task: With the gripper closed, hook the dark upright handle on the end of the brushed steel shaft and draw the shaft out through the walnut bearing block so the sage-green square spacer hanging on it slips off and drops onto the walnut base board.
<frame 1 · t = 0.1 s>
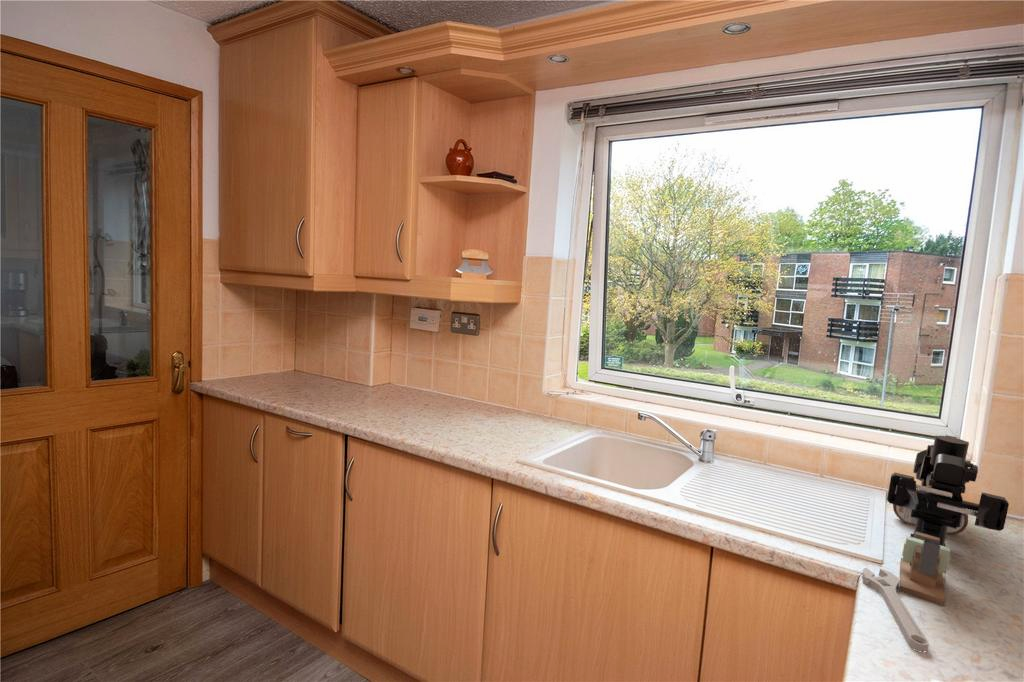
hand: (946, 514, 107), 16 cm above the counter, tool horizontal, fingers open, 9 cm apart
shaft: (928, 548, 111), point 8 cm above the counter, slide at 0.0 cm, touching spacer
adjustable wrench: (889, 608, 104), on the counter, touching stand
spacer: (923, 565, 114), point 3 cm above the counter, touching shaft
tin: (926, 528, 141), on the counter, touching arm
stand: (920, 583, 113), on the counter
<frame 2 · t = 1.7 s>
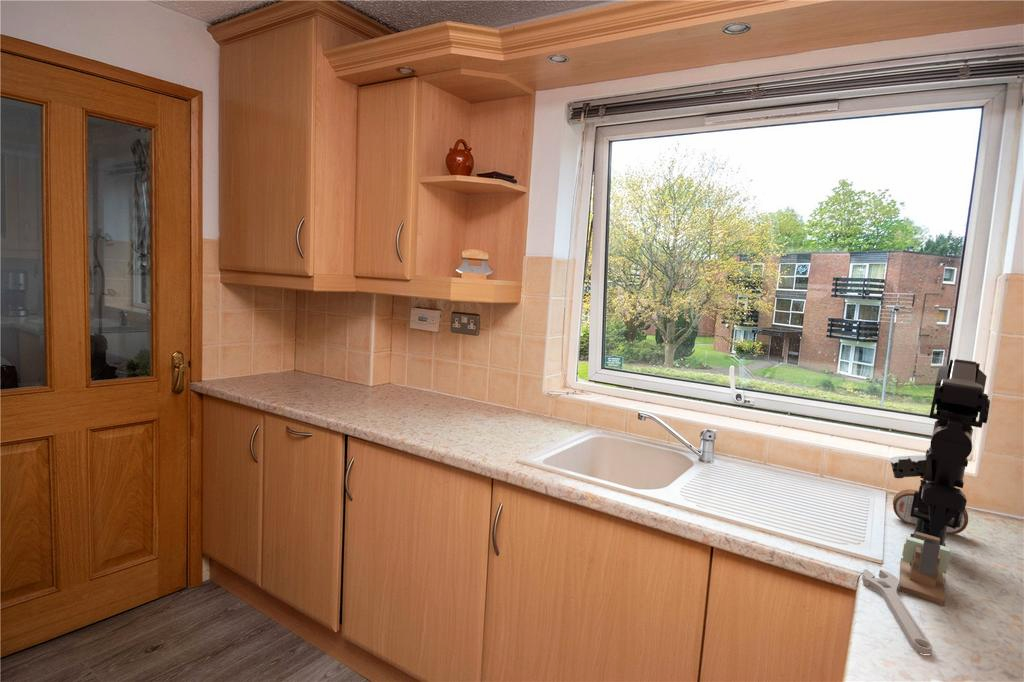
hand: (933, 527, 109), 13 cm above the counter, tool pointing down, fingers open, 6 cm apart
tin: (926, 528, 141), on the counter
everything else where it was.
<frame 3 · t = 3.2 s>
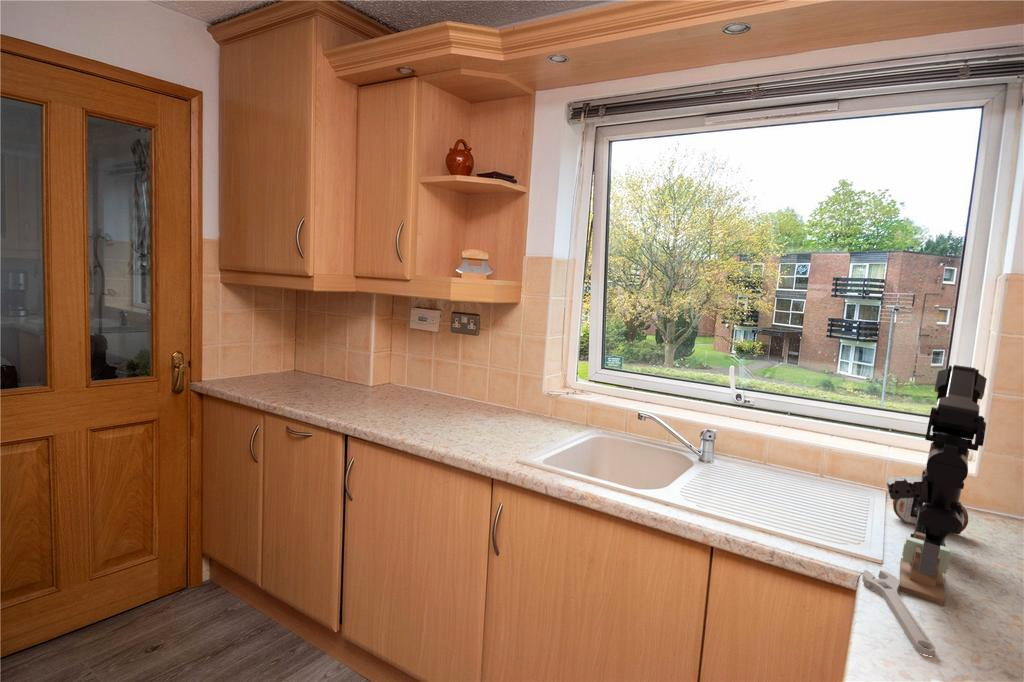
hand: (929, 549, 109), 9 cm above the counter, tool pointing down, fingers closed
shaft: (928, 548, 111), point 8 cm above the counter, slide at 0.1 cm, touching gripper, spacer
everything else where it was.
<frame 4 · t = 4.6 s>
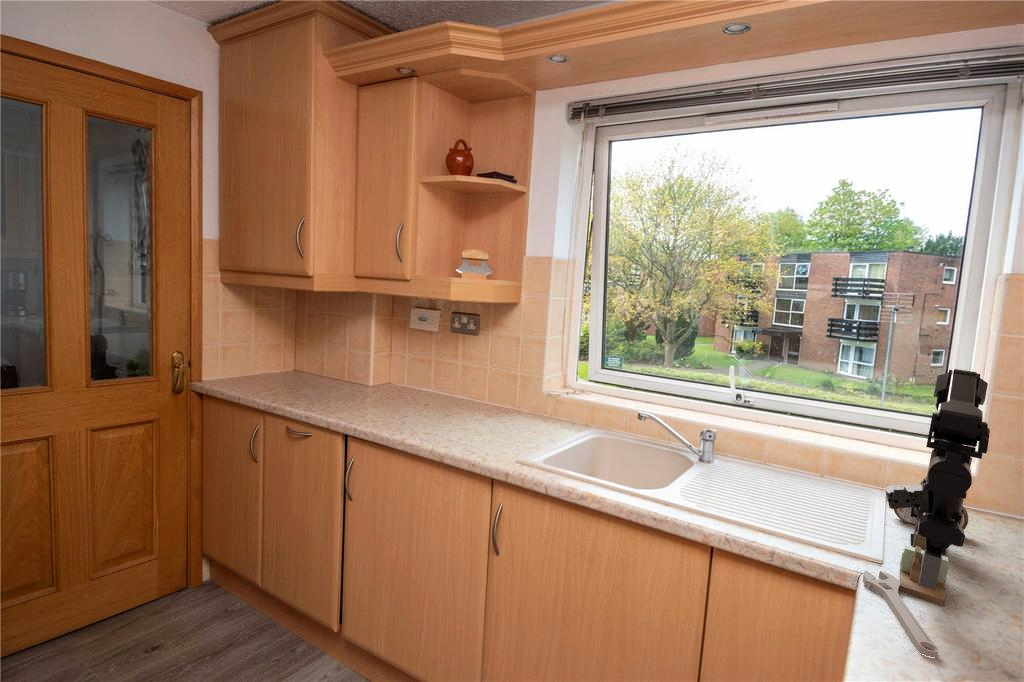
hand: (930, 561, 104), 9 cm above the counter, tool pointing down, fingers closed
shaft: (929, 560, 106), point 8 cm above the counter, slide at 6.0 cm, touching gripper
spacer: (921, 574, 114), point 1 cm above the counter, touching stand
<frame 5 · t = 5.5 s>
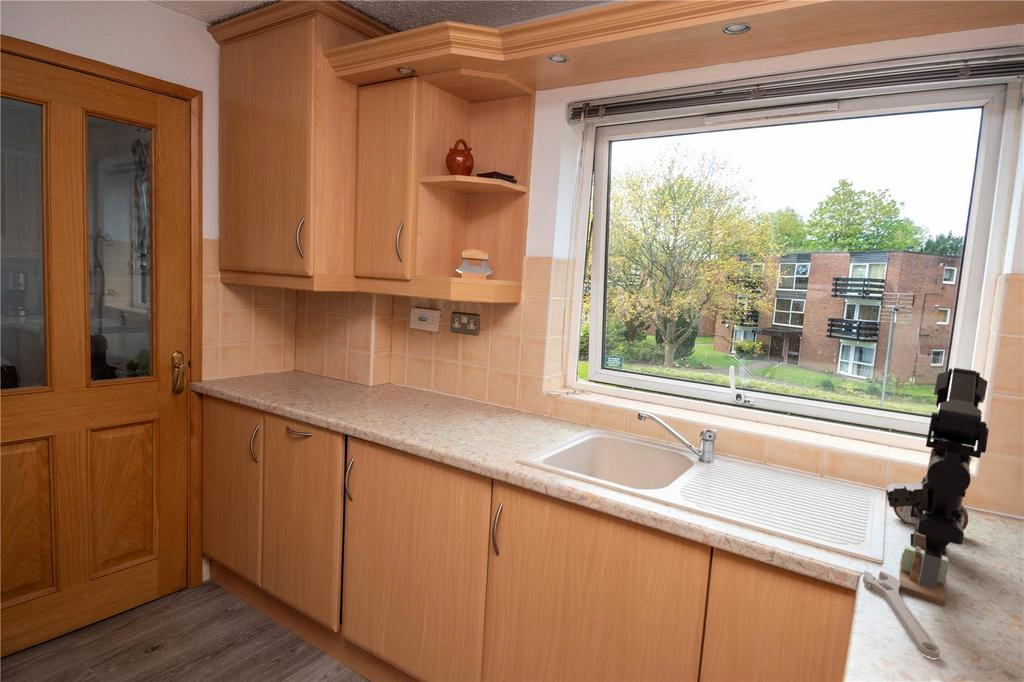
hand: (929, 558, 106), 8 cm above the counter, tool pointing down, fingers closed
shaft: (929, 560, 106), point 8 cm above the counter, slide at 6.0 cm
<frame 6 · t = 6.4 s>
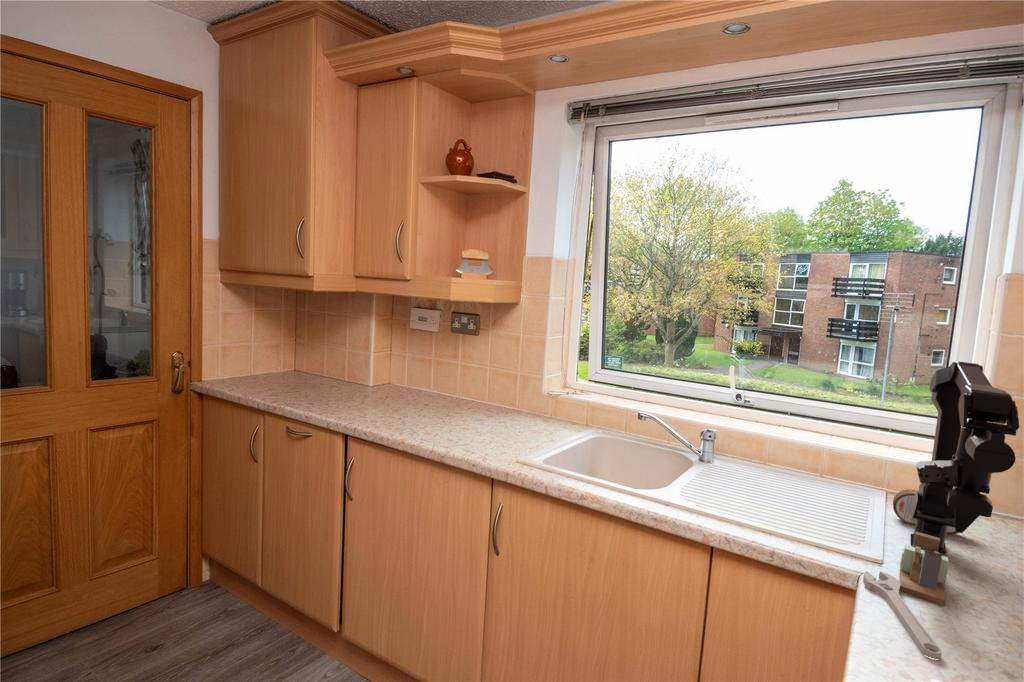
hand: (958, 531, 111), 12 cm above the counter, tool pointing down, fingers closed
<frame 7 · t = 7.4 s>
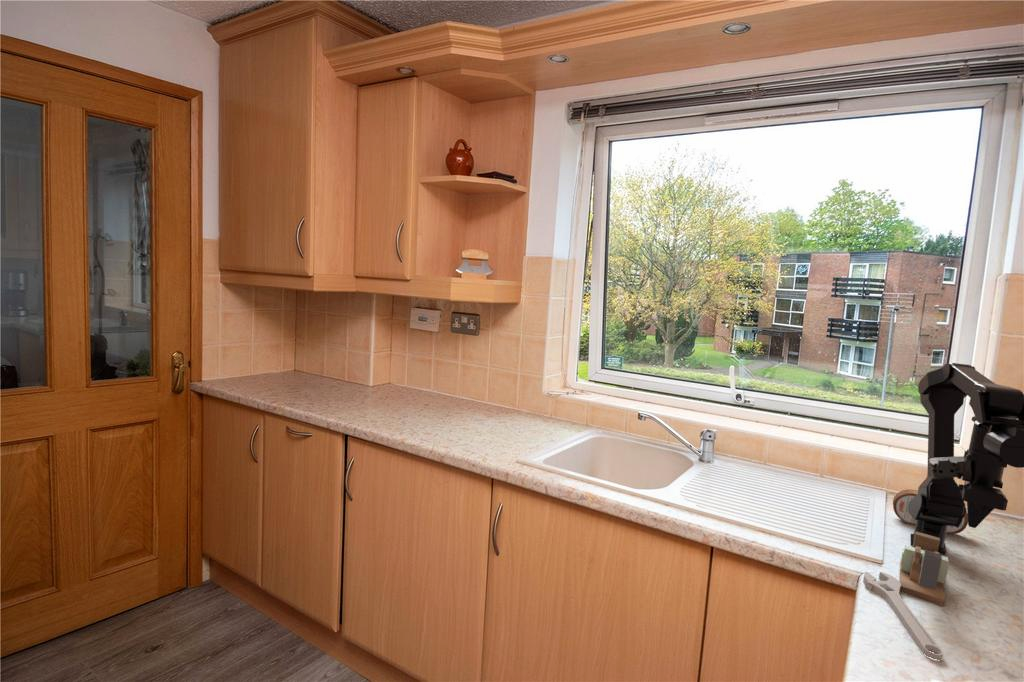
hand: (971, 526, 113), 12 cm above the counter, tool pointing down, fingers closed
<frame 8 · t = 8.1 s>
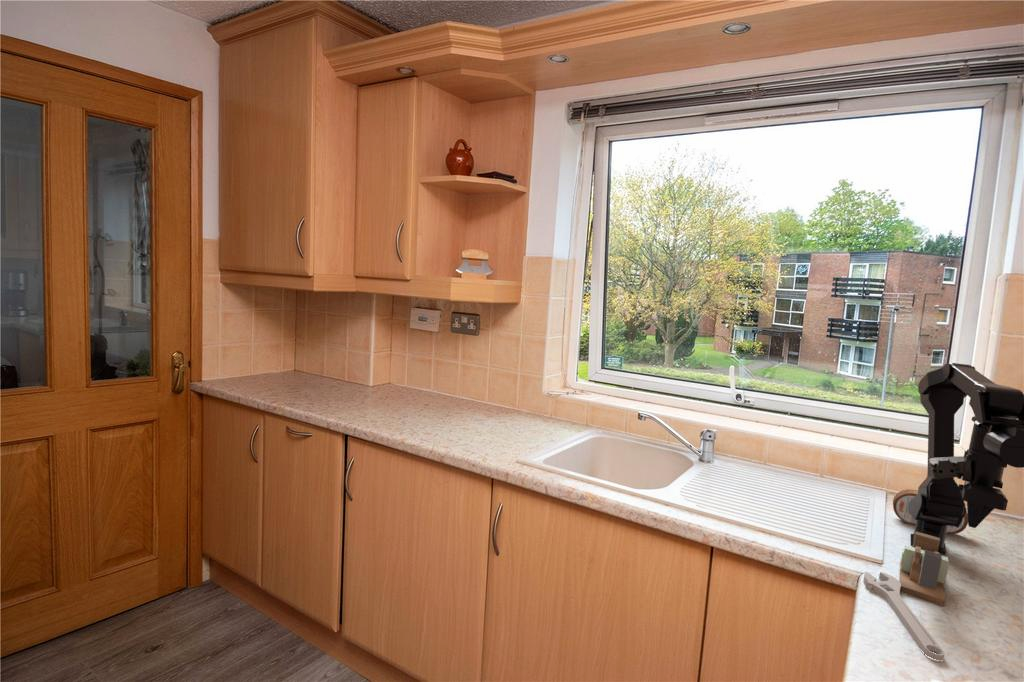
hand: (971, 526, 113), 12 cm above the counter, tool pointing down, fingers closed
at the end: shaft slide at 6.0 cm; spacer inside the target area on the stand (0.1 cm from its centre), point 1.2 cm above the stand's base; spacer touching stand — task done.
